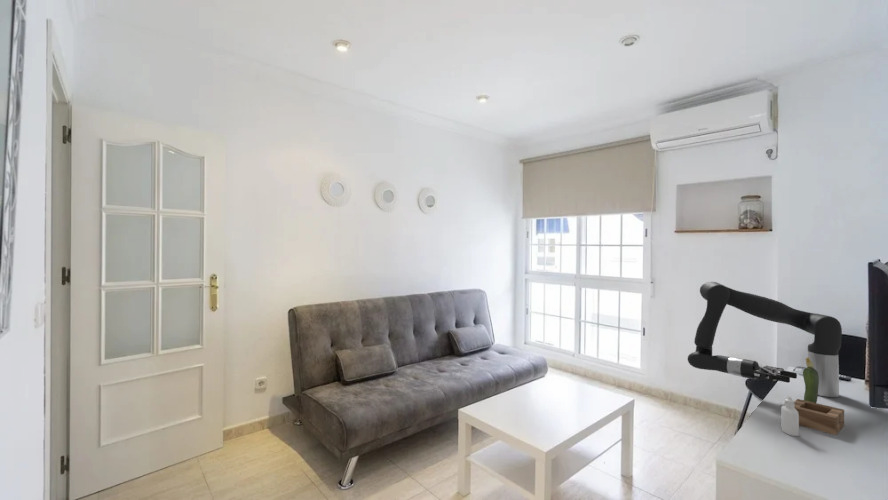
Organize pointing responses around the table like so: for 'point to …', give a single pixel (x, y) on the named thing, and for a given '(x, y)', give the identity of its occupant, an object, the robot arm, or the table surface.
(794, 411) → the eye dropper bottle
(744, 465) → the table surface
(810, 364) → the vegetable
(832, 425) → the socket
